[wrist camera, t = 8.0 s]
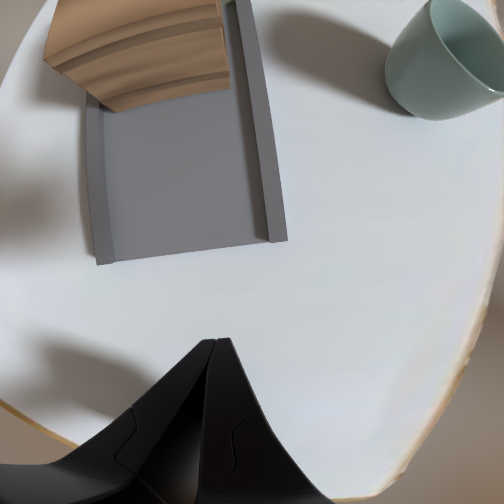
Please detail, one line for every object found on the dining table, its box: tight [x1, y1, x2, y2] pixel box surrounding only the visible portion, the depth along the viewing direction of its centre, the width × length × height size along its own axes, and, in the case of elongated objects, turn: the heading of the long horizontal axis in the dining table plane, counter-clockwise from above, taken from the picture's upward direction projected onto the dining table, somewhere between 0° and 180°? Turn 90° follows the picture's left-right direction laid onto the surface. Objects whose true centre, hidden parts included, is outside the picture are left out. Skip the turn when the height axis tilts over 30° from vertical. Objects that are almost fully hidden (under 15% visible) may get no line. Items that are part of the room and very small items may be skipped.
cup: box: [384, 0, 504, 121], centre depth 15 cm, size 8×8×10 cm
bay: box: [86, 0, 288, 265], centre depth 16 cm, size 24×14×9 cm, turn 7°
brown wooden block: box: [43, 0, 231, 113], centre depth 14 cm, size 8×9×10 cm
